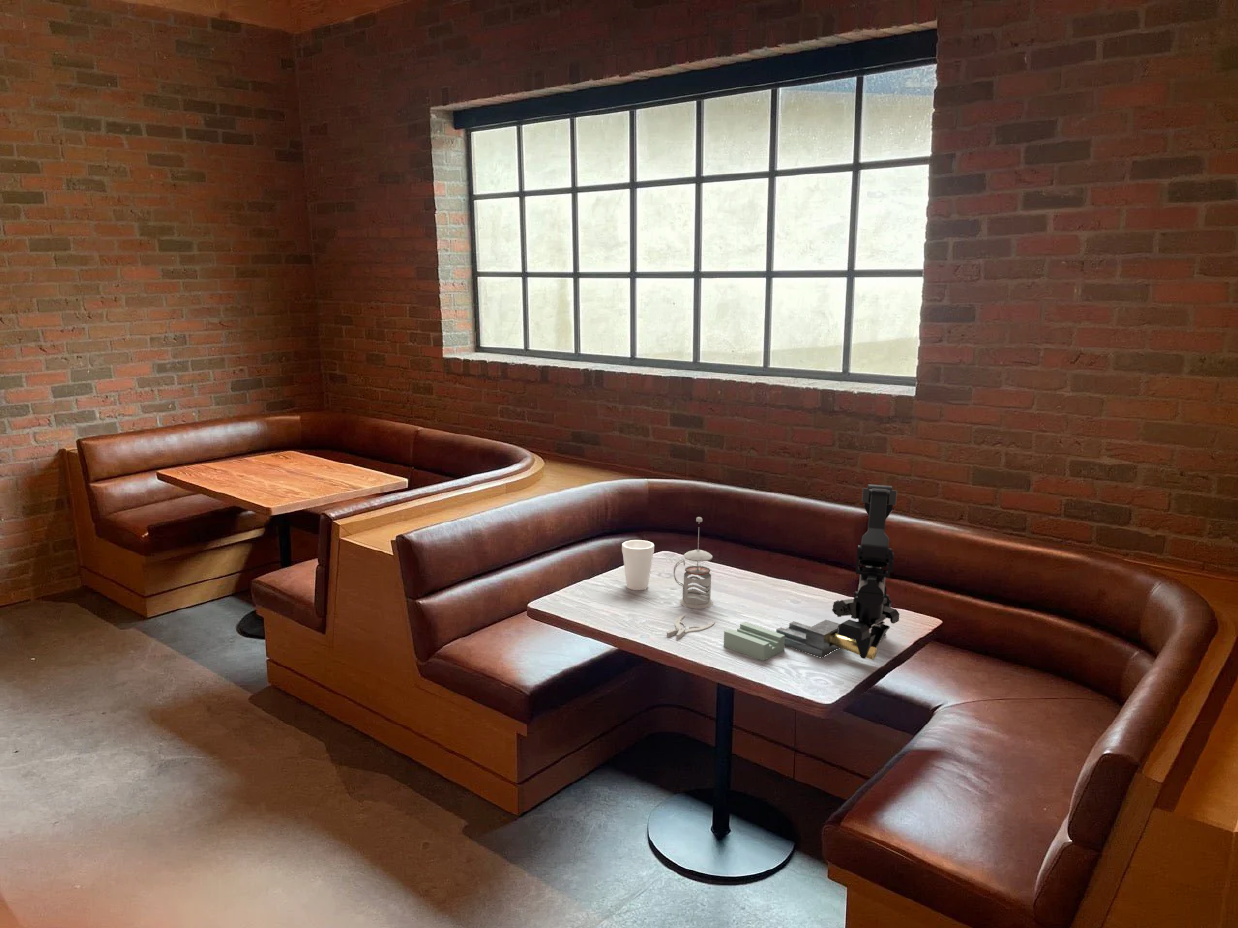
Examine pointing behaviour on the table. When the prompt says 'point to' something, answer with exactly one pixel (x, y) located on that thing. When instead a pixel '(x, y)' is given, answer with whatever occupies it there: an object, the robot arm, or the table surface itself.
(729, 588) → the table surface
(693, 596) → the french press
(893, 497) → the robot arm
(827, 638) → the grey slotted block
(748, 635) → the v block
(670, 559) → the table surface
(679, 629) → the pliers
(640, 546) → the foam cup
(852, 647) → the axle
